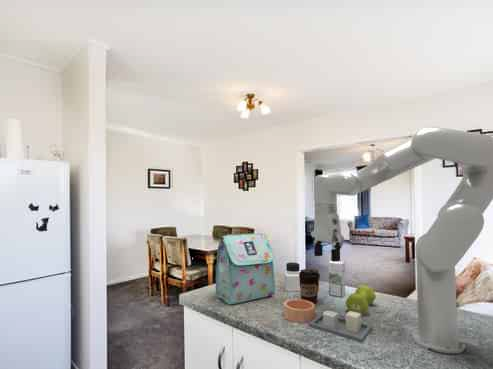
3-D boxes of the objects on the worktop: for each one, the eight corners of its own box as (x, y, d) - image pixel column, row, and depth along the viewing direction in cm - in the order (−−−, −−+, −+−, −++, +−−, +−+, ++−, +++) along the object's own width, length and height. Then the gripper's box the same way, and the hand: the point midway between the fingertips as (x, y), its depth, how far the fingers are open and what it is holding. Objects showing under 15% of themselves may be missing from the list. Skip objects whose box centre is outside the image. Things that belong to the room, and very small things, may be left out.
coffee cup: (320, 308, 108) (320, 273, 109) (298, 306, 110) (298, 272, 111) (319, 300, 117) (319, 268, 118) (299, 298, 118) (299, 267, 119)
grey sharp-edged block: (338, 327, 91) (338, 313, 91) (333, 332, 88) (333, 317, 88) (327, 324, 93) (327, 310, 93) (323, 328, 90) (322, 314, 90)
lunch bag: (229, 308, 108) (230, 237, 109) (212, 295, 122) (213, 232, 124) (278, 297, 120) (278, 233, 121) (257, 287, 134) (257, 230, 135)
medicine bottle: (302, 291, 128) (301, 264, 128) (286, 291, 128) (286, 264, 129) (299, 286, 135) (299, 261, 136) (284, 286, 135) (284, 261, 136)
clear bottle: (345, 294, 125) (345, 260, 125) (342, 298, 120) (341, 263, 120) (332, 291, 128) (332, 259, 129) (328, 295, 123) (328, 261, 124)
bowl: (319, 316, 100) (319, 303, 101) (306, 326, 92) (306, 312, 92) (293, 309, 107) (293, 297, 107) (278, 318, 99) (278, 305, 99)
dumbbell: (356, 300, 117) (355, 283, 117) (377, 305, 112) (376, 286, 113) (344, 313, 104) (343, 293, 104) (367, 319, 99) (366, 298, 99)
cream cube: (361, 327, 91) (360, 313, 91) (357, 332, 87) (357, 317, 88) (350, 324, 93) (349, 310, 93) (345, 329, 90) (345, 314, 90)
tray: (372, 330, 90) (372, 325, 90) (362, 344, 81) (361, 338, 81) (322, 317, 100) (322, 312, 100) (308, 328, 91) (308, 323, 92)
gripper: (351, 210, 94) (352, 262, 93) (320, 208, 110) (320, 253, 109) (332, 210, 91) (333, 264, 90) (303, 209, 107) (304, 254, 106)
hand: (326, 258), depth 100 cm, fingers open, 9 cm apart
